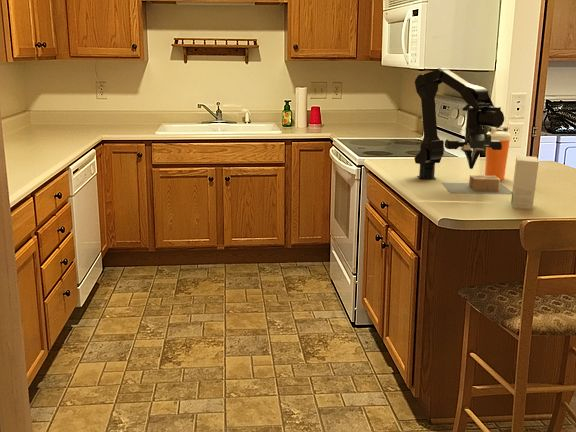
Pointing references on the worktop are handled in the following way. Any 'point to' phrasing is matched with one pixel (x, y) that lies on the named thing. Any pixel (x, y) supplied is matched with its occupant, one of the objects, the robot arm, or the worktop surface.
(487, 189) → the block
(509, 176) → the worktop surface
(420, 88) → the robot arm
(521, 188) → the skincare box
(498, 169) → the shaker bottle
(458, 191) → the mat
